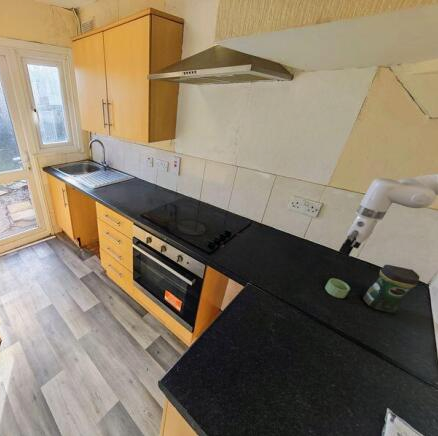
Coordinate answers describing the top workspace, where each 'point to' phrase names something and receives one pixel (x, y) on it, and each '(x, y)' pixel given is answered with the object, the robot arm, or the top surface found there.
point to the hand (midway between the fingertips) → (348, 250)
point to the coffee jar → (390, 288)
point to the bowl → (337, 288)
